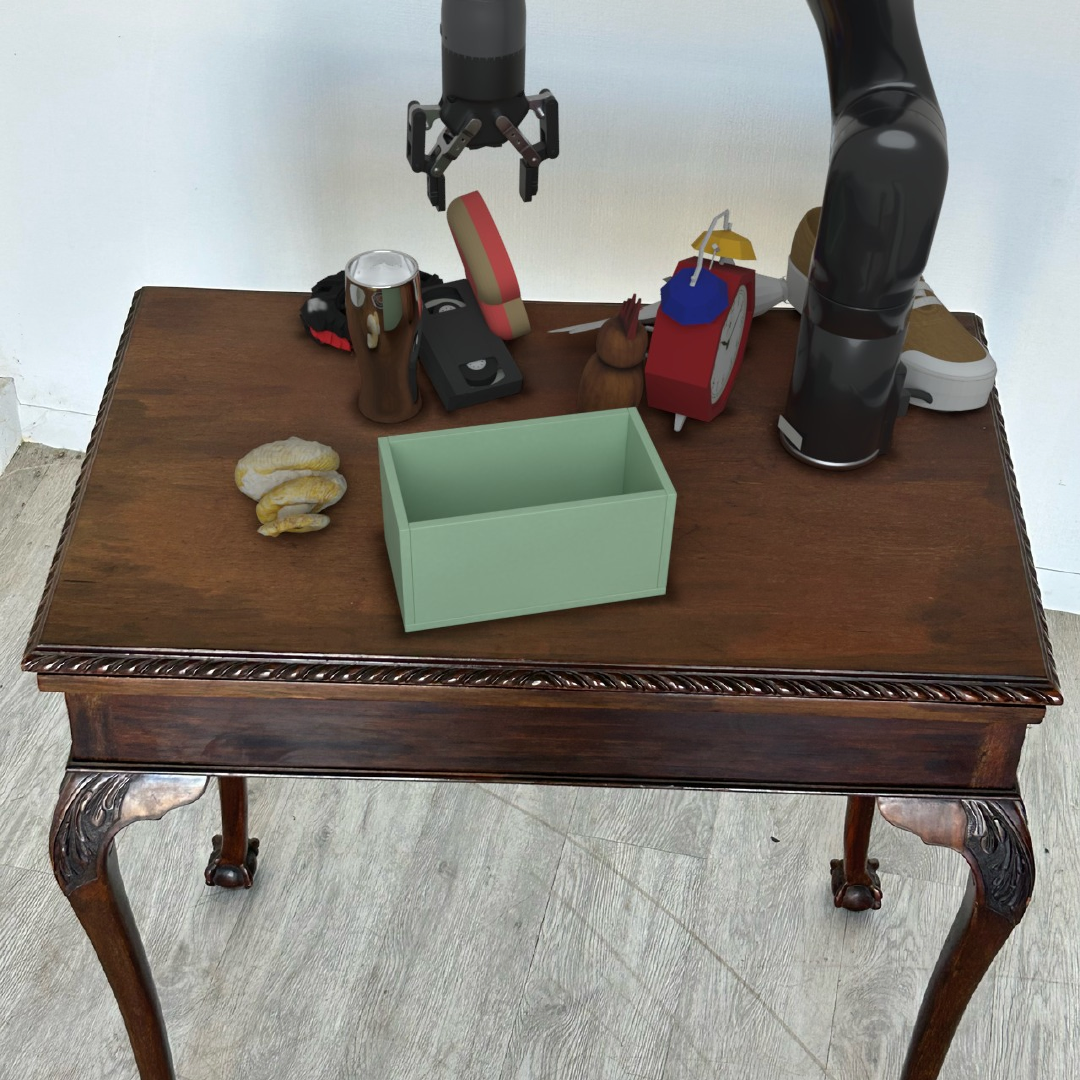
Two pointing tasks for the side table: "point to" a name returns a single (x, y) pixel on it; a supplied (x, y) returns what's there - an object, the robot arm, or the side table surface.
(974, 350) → the sneaker
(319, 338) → the toy
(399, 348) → the beer glass
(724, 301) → the alarm clock
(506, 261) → the decorative object
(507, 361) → the vhs tape
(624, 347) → the wooden figurine
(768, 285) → the fish
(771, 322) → the side table surface
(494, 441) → the bin
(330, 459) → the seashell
